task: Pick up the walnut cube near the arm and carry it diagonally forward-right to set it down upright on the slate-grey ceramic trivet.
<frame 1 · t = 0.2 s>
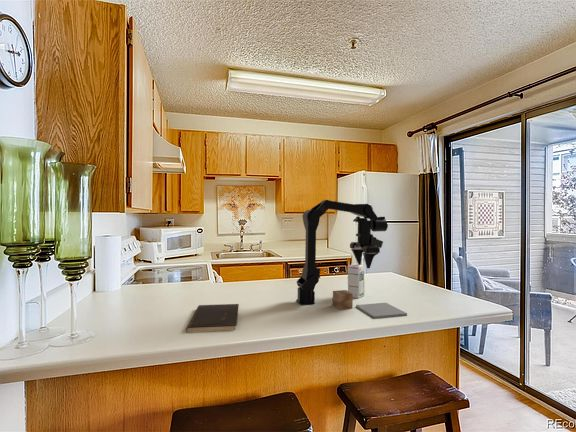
hand: (363, 266, 138), 14 cm above the table, fingers open, 9 cm apart
trivet: (380, 311, 120), on the table
hardcover book: (215, 321, 110), on the table
syrup box: (355, 296, 142), on the table, touching gripper
walnut cube: (342, 306, 126), on the table
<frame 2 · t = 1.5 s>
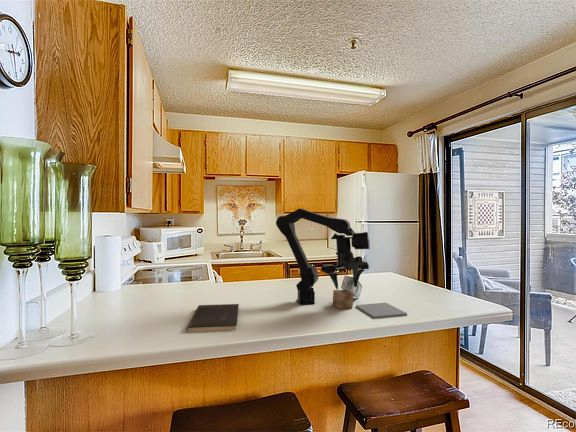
hand: (346, 288, 125), 8 cm above the table, fingers open, 8 cm apart
syrup box: (354, 290, 140), point 3 cm above the table, touching gripper, walnut cube
walnut cube: (342, 306, 125), on the table, touching syrup box
everything else where it was.
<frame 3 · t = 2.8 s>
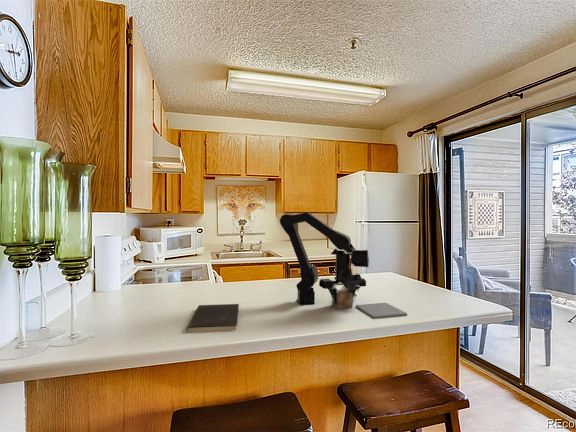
hand: (342, 303, 126), 1 cm above the table, fingers closed on walnut cube, 6 cm apart
syrup box: (350, 286, 144), point 4 cm above the table, touching gripper
walnut cube: (342, 306, 126), on the table, touching gripper
everything else where it was.
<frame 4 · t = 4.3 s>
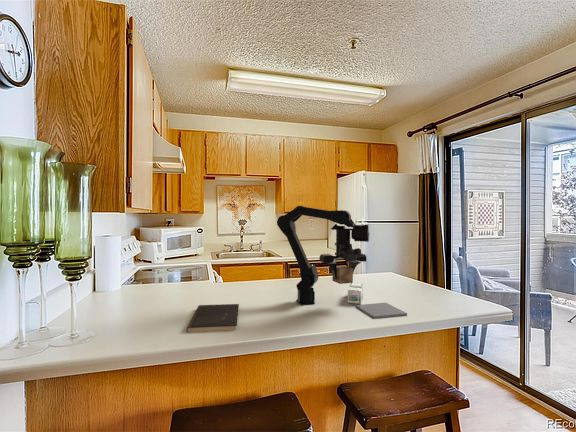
hand: (342, 278, 126), 11 cm above the table, fingers closed on walnut cube, 6 cm apart
syrup box: (357, 288, 143), point 3 cm above the table
walnut cube: (342, 281, 126), point 10 cm above the table, touching gripper
everything else where it was.
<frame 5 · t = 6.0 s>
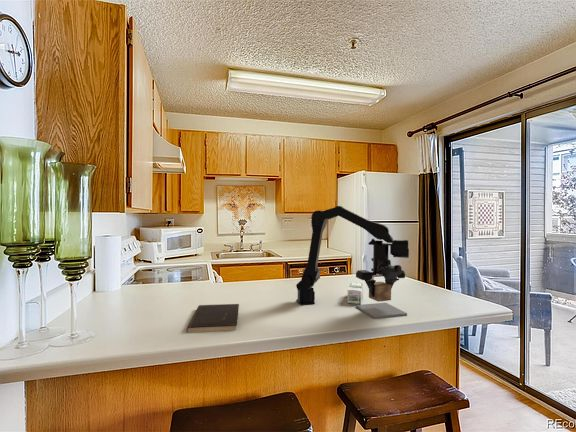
hand: (380, 296, 120), 6 cm above the table, fingers closed on walnut cube, 6 cm apart
walnut cube: (379, 298, 120), point 5 cm above the table, touching gripper
everything else where it was.
when the fingers open (3 cm above the table, at t = 7.3 s): walnut cube stays where it is, resting on trivet.
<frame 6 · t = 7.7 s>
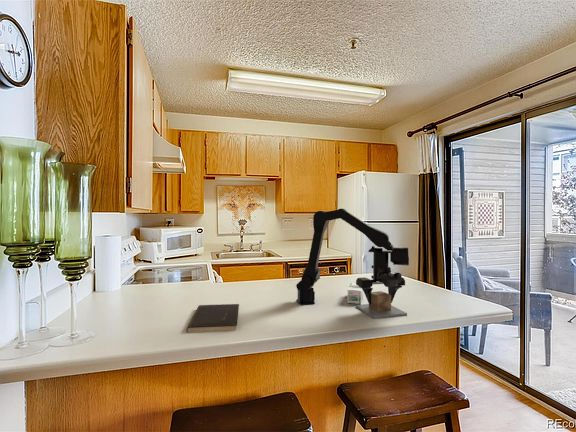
hand: (380, 303, 120), 3 cm above the table, fingers open, 9 cm apart
walnut cube: (379, 308, 120), point 1 cm above the table, touching trivet
everything else where it was.
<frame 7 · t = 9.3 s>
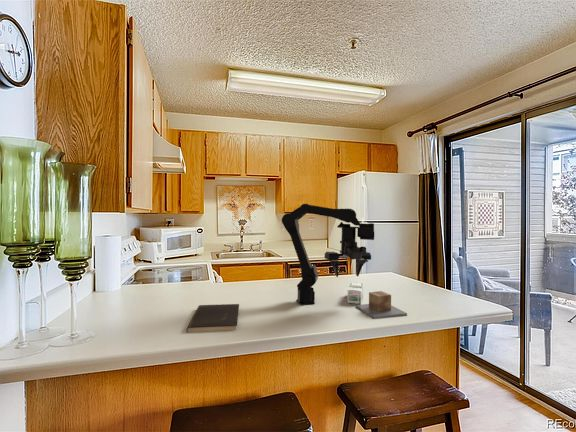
hand: (347, 276, 127), 12 cm above the table, fingers open, 9 cm apart
nothing on the table moved.
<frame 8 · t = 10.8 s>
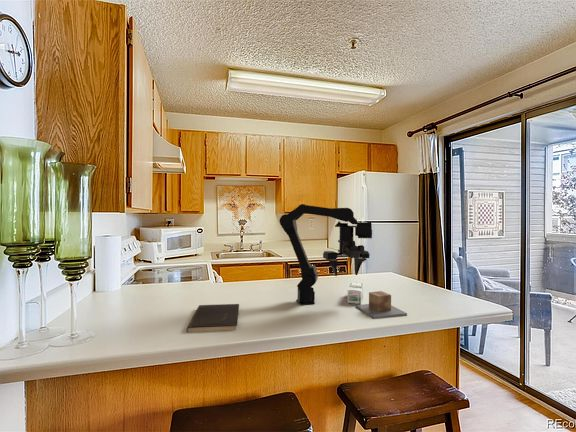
hand: (346, 275, 127), 13 cm above the table, fingers open, 9 cm apart
nothing on the table moved.
at the end: walnut cube inside the target area on the trivet (0.3 cm from its centre), point 0.8 cm above the trivet's base; walnut cube tilted 0°; the gripper is holding nothing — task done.
